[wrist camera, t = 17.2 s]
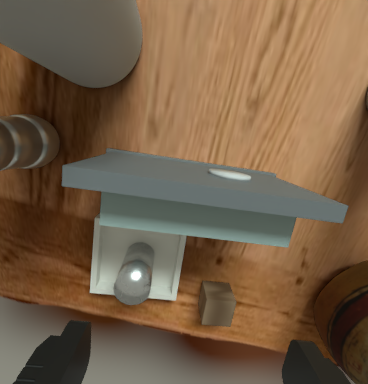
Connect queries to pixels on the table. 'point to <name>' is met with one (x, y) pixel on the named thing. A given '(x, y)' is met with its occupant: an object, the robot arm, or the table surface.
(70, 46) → the cylinder vase
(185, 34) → the table surface
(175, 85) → the table surface
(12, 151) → the plastic bottle
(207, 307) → the walnut block
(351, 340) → the ceramic pitcher
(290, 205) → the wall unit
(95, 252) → the tray
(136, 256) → the steel cylinder
